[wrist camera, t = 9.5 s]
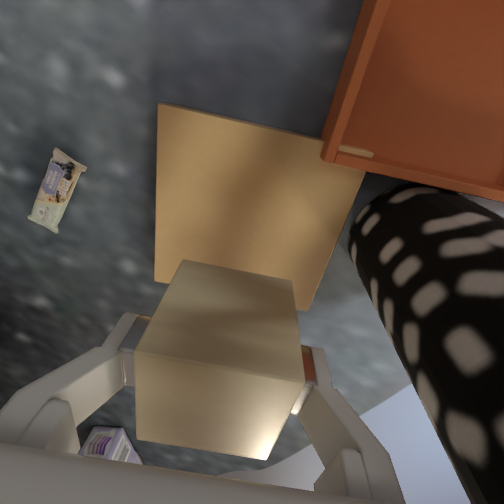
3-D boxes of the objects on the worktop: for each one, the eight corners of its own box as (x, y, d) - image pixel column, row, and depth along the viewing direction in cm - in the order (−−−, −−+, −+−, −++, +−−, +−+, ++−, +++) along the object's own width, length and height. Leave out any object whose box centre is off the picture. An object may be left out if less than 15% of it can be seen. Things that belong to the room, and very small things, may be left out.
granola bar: (61, 232, 22) (52, 238, 21) (32, 215, 21) (21, 220, 20) (91, 165, 19) (82, 169, 18) (59, 143, 18) (48, 146, 17)
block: (293, 280, 11) (306, 382, 7) (267, 352, 13) (267, 461, 9) (182, 258, 11) (132, 352, 7) (175, 336, 13) (135, 440, 9)
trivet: (366, 148, 17) (374, 153, 16) (306, 300, 24) (308, 311, 22) (165, 102, 17) (157, 102, 15) (160, 270, 23) (153, 281, 22)
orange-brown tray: (703, -21, 13) (806, -48, 10) (530, 201, 18) (570, 218, 16) (397, -108, 12) (429, -160, 9) (315, 152, 18) (323, 161, 15)
